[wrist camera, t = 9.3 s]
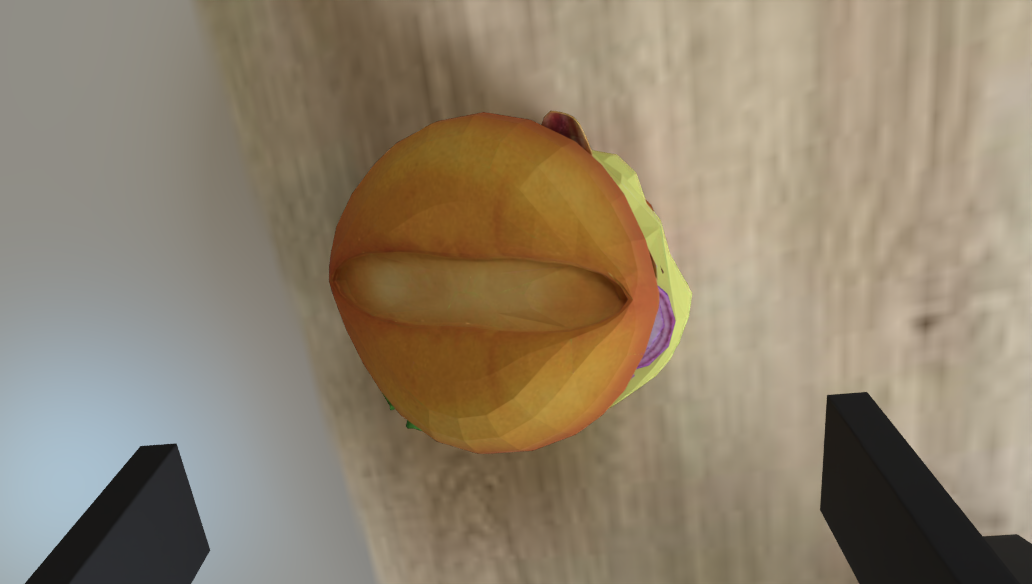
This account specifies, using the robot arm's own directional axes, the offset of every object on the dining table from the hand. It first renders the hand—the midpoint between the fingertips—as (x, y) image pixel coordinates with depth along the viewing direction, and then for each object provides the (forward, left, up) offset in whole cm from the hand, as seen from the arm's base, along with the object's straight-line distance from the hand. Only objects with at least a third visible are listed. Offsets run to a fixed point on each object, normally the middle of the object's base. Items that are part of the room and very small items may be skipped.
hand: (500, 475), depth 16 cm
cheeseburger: (0, 0, -13) cm, 13 cm away
